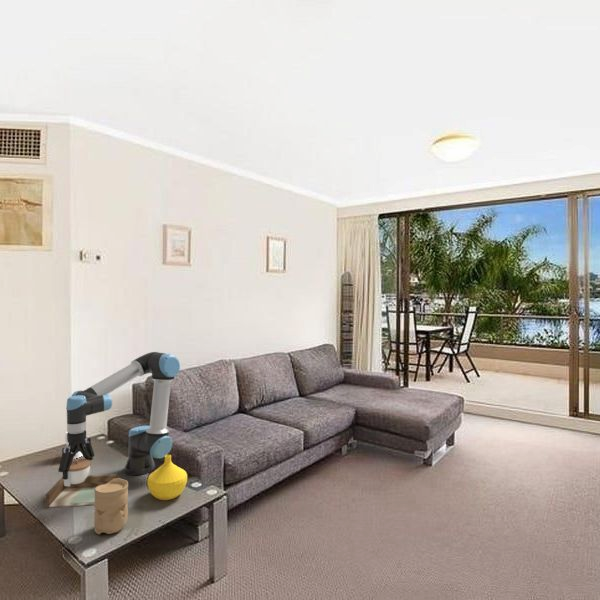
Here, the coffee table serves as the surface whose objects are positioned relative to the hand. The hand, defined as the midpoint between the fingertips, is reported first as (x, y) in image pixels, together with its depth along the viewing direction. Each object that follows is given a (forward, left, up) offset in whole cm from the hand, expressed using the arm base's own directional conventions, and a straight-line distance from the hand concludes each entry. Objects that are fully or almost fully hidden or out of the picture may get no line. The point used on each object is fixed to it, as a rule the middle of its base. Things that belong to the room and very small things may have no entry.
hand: (77, 479), depth 187 cm
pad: (-3, -11, -13) cm, 17 cm away
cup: (+23, -61, -13) cm, 67 cm away
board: (+1, -12, -13) cm, 18 cm away
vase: (-38, -9, -13) cm, 41 cm away
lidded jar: (0, 0, -1) cm, 1 cm away
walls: (+1, -12, -13) cm, 18 cm away
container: (-20, +17, -13) cm, 29 cm away
